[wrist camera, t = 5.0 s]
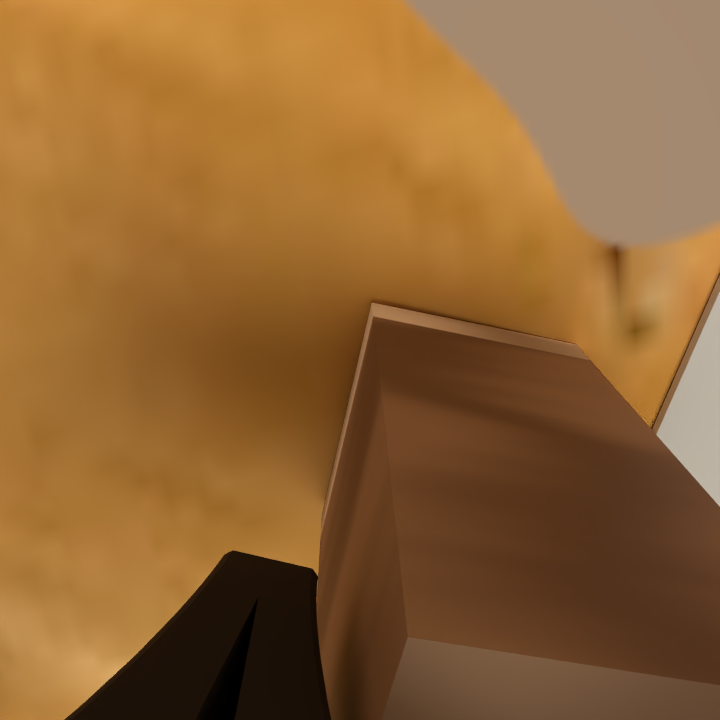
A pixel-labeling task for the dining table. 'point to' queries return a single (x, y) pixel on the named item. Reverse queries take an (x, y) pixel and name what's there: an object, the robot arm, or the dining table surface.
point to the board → (697, 403)
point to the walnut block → (509, 539)
